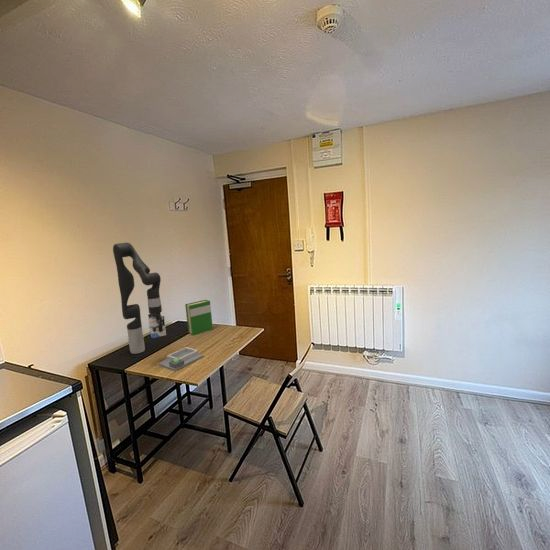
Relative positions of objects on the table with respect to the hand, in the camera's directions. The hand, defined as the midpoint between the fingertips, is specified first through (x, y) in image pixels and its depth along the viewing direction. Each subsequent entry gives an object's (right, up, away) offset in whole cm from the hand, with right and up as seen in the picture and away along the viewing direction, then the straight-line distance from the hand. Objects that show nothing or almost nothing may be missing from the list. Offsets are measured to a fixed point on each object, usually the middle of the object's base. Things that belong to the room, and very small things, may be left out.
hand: (158, 330), depth 190 cm
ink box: (0, -3, +1) cm, 3 cm away
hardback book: (+14, -11, +53) cm, 56 cm away
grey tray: (+14, -19, +1) cm, 24 cm away
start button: (+14, -19, -8) cm, 25 cm away
